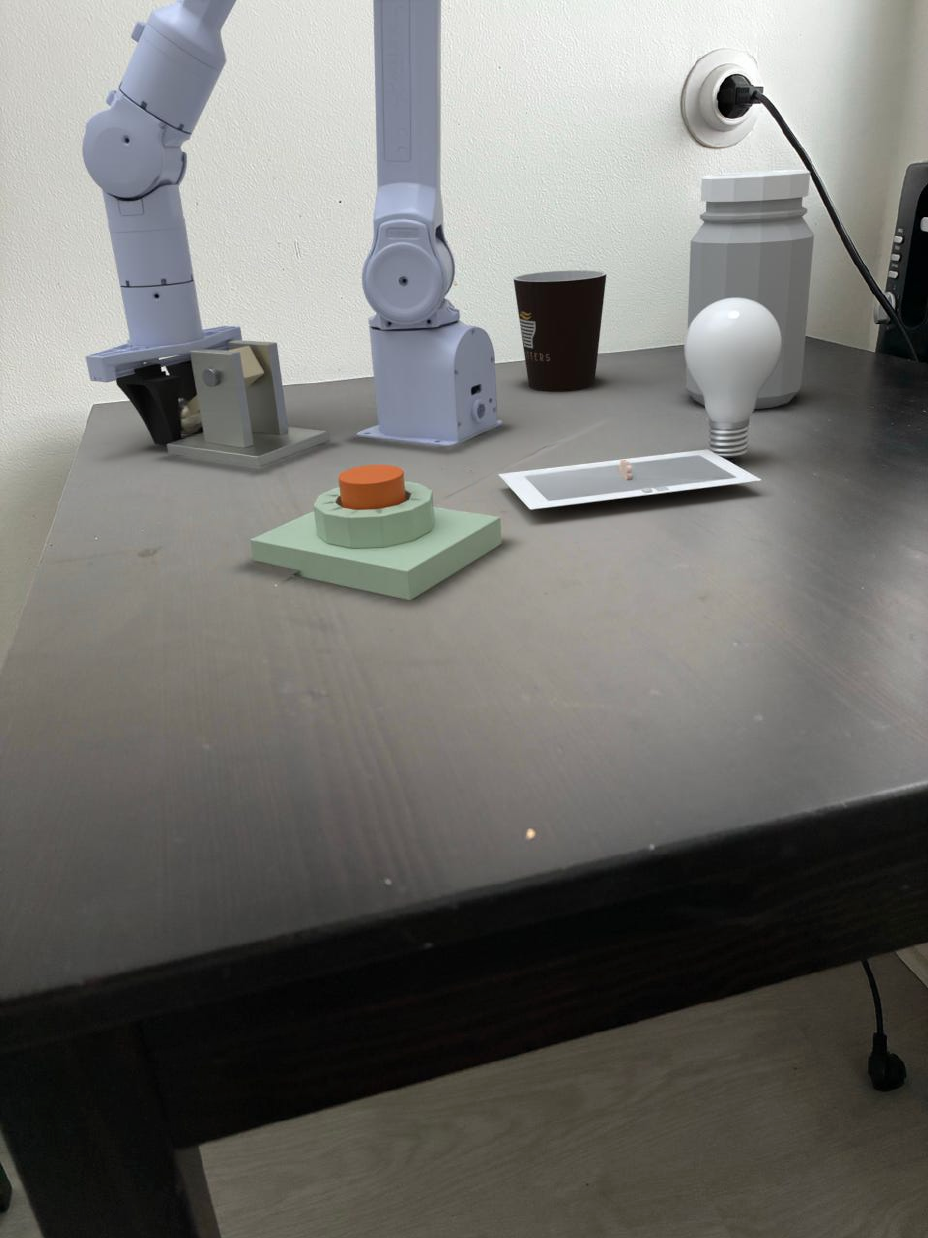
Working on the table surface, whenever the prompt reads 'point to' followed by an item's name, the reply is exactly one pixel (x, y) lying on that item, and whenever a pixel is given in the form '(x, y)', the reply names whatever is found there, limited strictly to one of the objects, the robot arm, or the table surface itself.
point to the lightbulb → (732, 366)
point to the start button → (372, 487)
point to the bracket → (242, 410)
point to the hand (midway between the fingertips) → (186, 451)
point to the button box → (380, 543)
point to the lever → (190, 407)
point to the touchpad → (624, 478)
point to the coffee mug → (560, 327)
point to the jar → (756, 262)
